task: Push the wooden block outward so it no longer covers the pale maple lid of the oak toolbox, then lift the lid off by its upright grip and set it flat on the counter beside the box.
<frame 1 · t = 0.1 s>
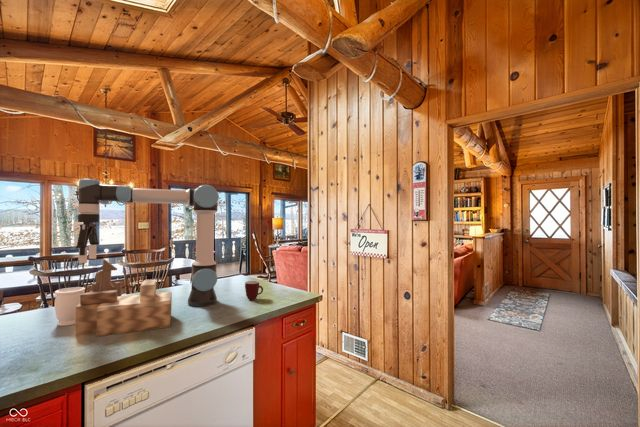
hand: (87, 260, 131), 28 cm above the worktop, tool pointing down, fingers open, 13 cm apart
wooden toy: (103, 307, 154), on the worktop
wooden block: (99, 297, 124), point 14 cm above the worktop, slide at 0.0 cm
lid: (138, 302, 129), point 10 cm above the worktop, touching toolbox
jar: (69, 323, 131), on the worktop
mug: (253, 299, 172), on the worktop
toolbox: (137, 325, 129), on the worktop
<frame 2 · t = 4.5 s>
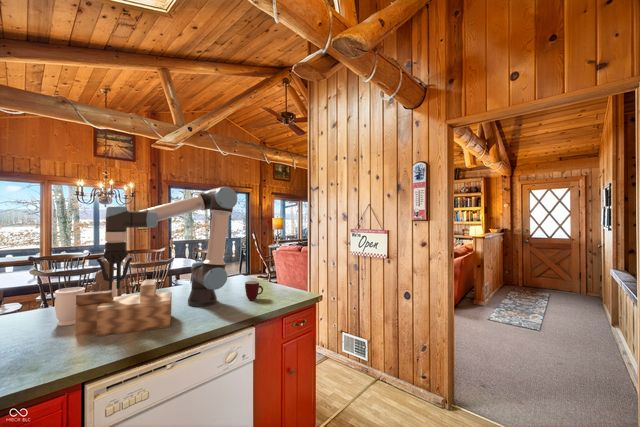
hand: (114, 296, 126), 14 cm above the worktop, tool pointing down, fingers closed
wooden block: (95, 297, 123), point 14 cm above the worktop, slide at 1.4 cm, touching gripper
everything else where it was.
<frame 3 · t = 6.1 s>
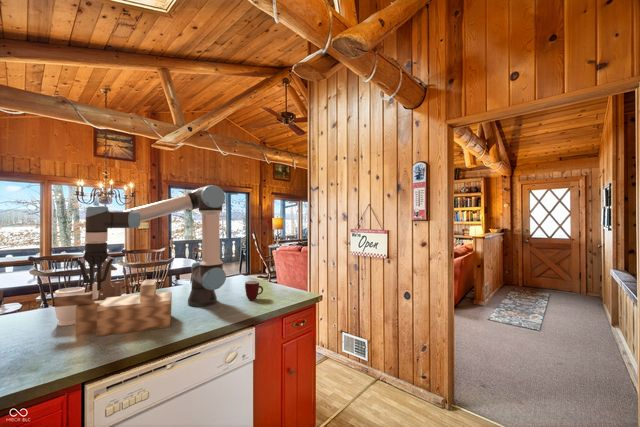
hand: (95, 298, 123), 13 cm above the worktop, tool pointing down, fingers closed
wooden block: (75, 299, 120), point 14 cm above the worktop, slide at 8.2 cm, touching gripper
everything else where it was.
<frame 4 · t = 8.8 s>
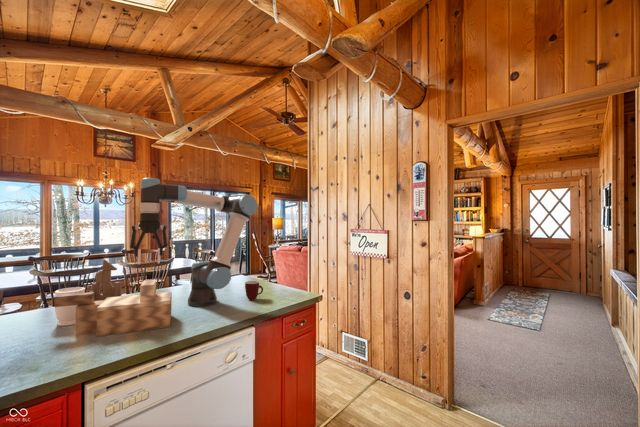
hand: (149, 263, 131), 27 cm above the worktop, tool pointing down, fingers open, 7 cm apart
wooden block: (75, 299, 120), point 14 cm above the worktop, slide at 8.2 cm
everything else where it was.
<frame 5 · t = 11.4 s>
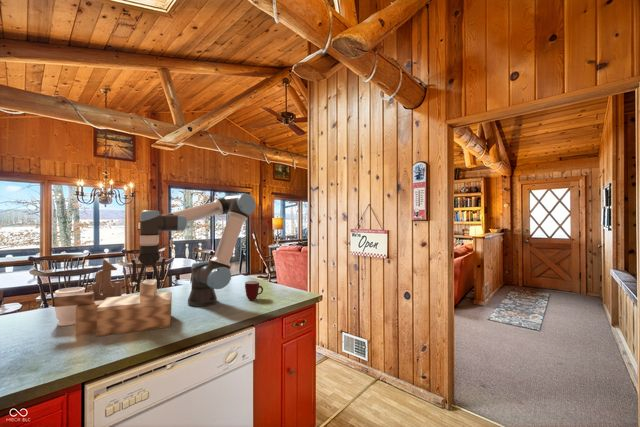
hand: (148, 296, 131), 12 cm above the worktop, tool pointing down, fingers closed on lid, 5 cm apart
lid: (138, 302, 129), point 10 cm above the worktop, touching gripper, toolbox
everything else where it was.
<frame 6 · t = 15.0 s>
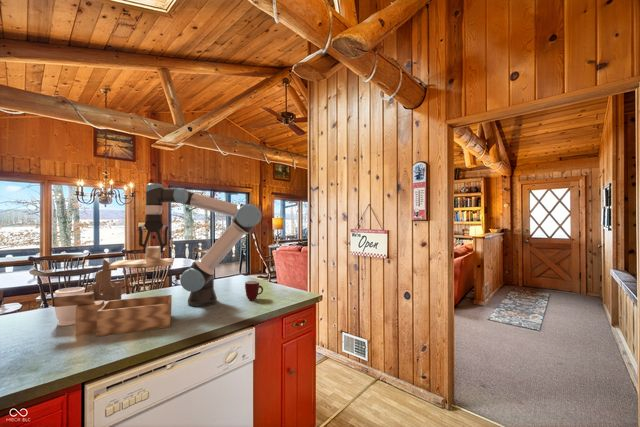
hand: (153, 259, 149), 26 cm above the worktop, tool pointing down, fingers closed on lid, 5 cm apart
lid: (144, 264, 147), point 24 cm above the worktop, touching gripper
everything else where it was.
when the fingers open (4 cm above the worktop, at t = 18.6 s): lid drops 3 cm, on the worktop.
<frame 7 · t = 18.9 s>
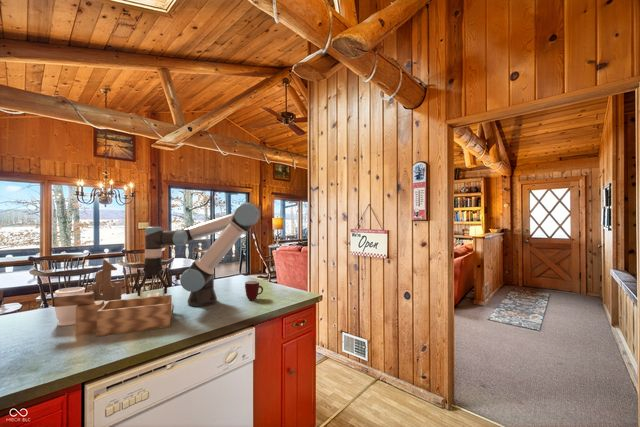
hand: (152, 301, 148), 5 cm above the worktop, tool pointing down, fingers open, 9 cm apart
lid: (143, 313, 147), on the worktop
everything else where it was.
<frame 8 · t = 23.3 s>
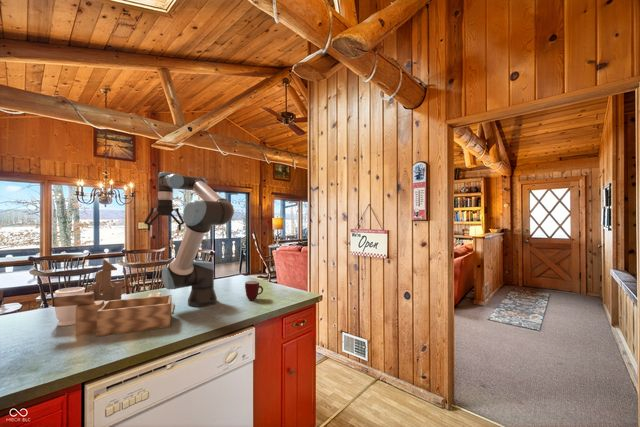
hand: (164, 236, 167), 37 cm above the worktop, tool pointing down, fingers open, 13 cm apart
nothing on the worktop moved.
at the end: wooden block slide at 8.2 cm; lid inside the target area (0.6 cm from its centre), on the worktop; lid tilted 0° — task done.
